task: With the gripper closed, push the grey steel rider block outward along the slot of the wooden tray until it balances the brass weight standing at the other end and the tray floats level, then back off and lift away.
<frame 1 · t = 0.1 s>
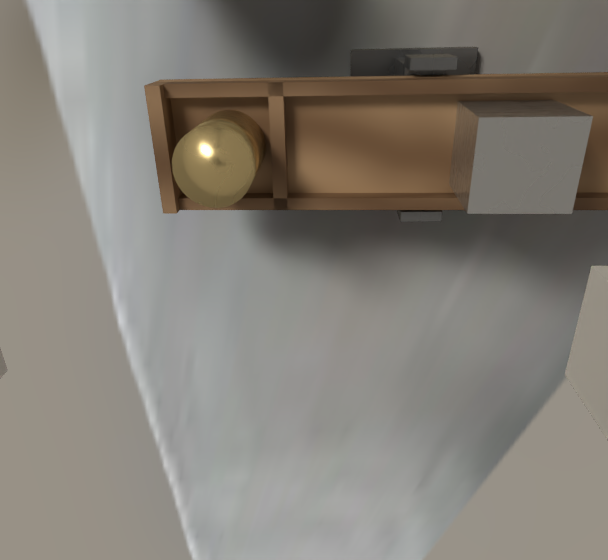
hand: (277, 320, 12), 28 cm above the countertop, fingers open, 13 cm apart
fulcrum: (408, 119, 36), on the countertop
wooden tray: (426, 145, 29), point 8 cm above the countertop, hinge at 1.4°, touching rider, weight
weight: (231, 145, 30), point 7 cm above the countertop, touching wooden tray
rider: (499, 143, 29), point 8 cm above the countertop, touching wooden tray
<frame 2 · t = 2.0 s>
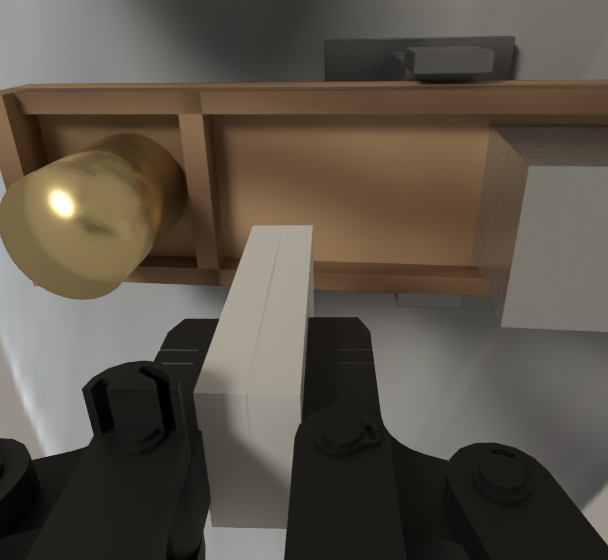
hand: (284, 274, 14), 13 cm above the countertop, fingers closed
fulcrum: (409, 141, 25), on the countertop
wooden tray: (437, 193, 18), point 8 cm above the countertop, hinge at 4.6°, touching rider, weight
weight: (134, 186, 20), point 7 cm above the countertop, touching wooden tray
rider: (556, 194, 18), point 8 cm above the countertop, touching wooden tray
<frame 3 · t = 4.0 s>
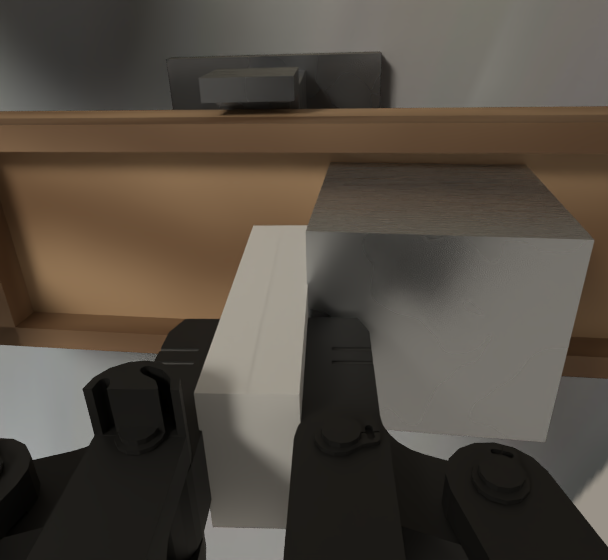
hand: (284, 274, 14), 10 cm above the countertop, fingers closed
fulcrum: (280, 170, 22), on the countertop
wooden tray: (253, 242, 15), point 8 cm above the countertop, hinge at 5.3°, touching weight
rider: (419, 244, 15), point 8 cm above the countertop, tilted 5°, touching gripper
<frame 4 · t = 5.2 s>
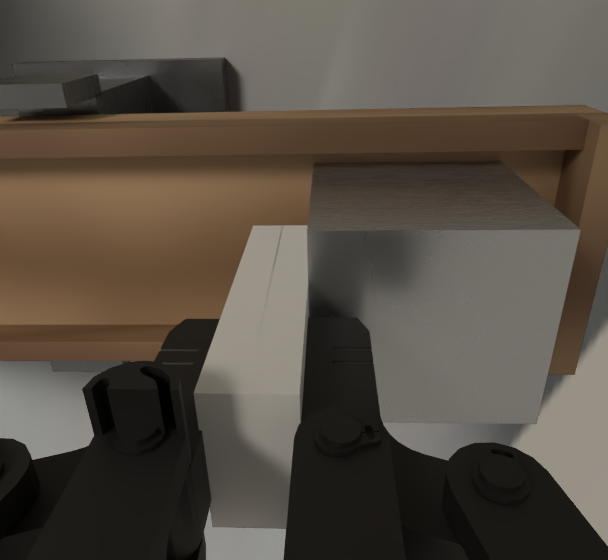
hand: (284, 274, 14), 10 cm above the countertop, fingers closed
fulcrum: (141, 173, 23), on the countertop
wooden tray: (56, 246, 16), point 8 cm above the countertop, hinge at -0.1°, touching weight
rider: (401, 241, 15), point 8 cm above the countertop, touching gripper
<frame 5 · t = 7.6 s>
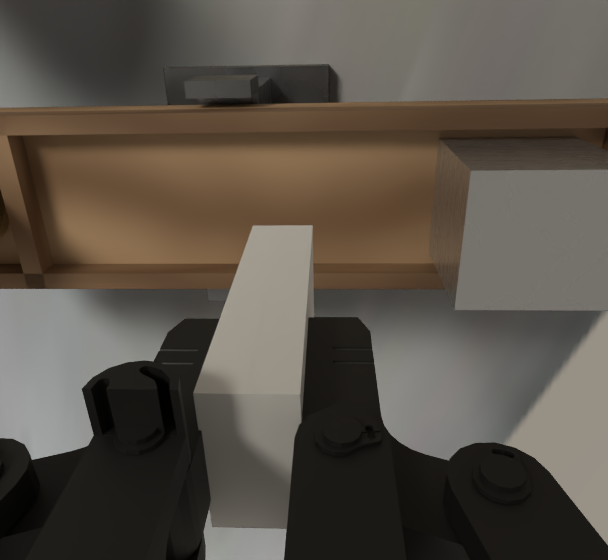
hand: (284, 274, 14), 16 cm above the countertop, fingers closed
fulcrum: (253, 156, 28), on the countertop
wooden tray: (227, 201, 21), point 8 cm above the countertop, hinge at -0.2°, touching rider, weight
rider: (497, 196, 21), point 8 cm above the countertop, touching wooden tray
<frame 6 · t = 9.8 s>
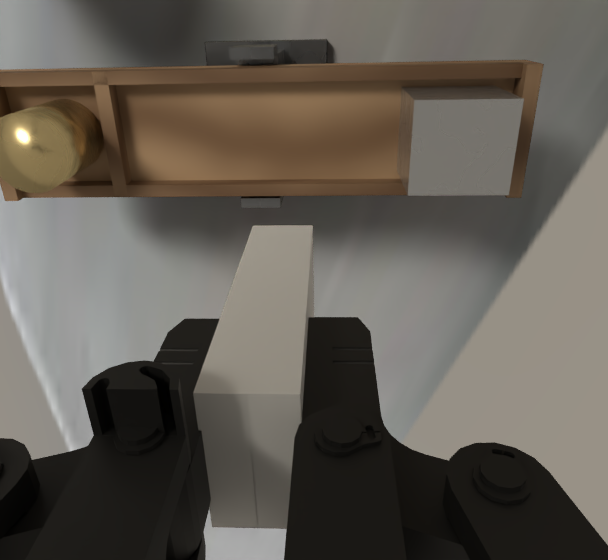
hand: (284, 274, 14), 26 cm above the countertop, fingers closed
fulcrum: (269, 110, 37), on the countertop
wooden tray: (256, 132, 30), point 8 cm above the countertop, hinge at 0.2°, touching rider, weight
weight: (70, 134, 31), point 8 cm above the countertop, touching wooden tray
rider: (443, 129, 30), point 8 cm above the countertop, touching wooden tray
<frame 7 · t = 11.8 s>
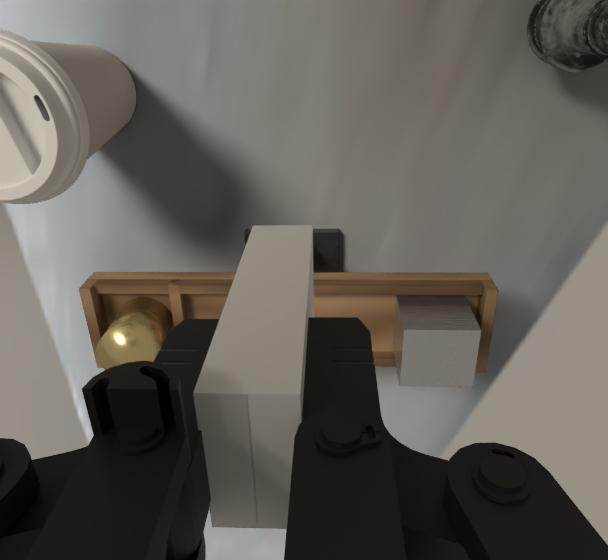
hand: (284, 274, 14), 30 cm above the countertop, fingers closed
fulcrum: (293, 276, 48), on the countertop
coffee cup: (96, 90, 41), on the countertop
wooden tray: (287, 321, 41), point 8 cm above the countertop, hinge at 0.3°, touching rider, weight
salt shaker: (564, 23, 38), on the countertop
weight: (147, 319, 41), point 8 cm above the countertop, touching wooden tray
rider: (427, 320, 40), point 8 cm above the countertop, touching wooden tray
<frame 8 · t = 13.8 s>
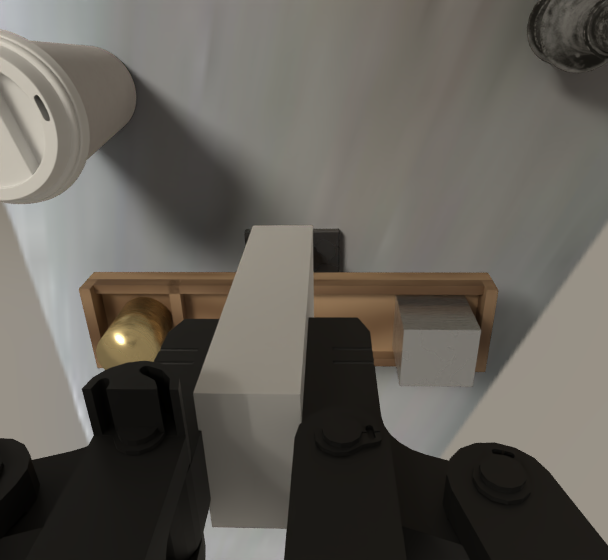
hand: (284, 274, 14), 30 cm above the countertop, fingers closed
fulcrum: (293, 276, 48), on the countertop
coffee cup: (96, 90, 41), on the countertop
wooden tray: (287, 321, 41), point 8 cm above the countertop, hinge at 0.3°, touching rider, weight
salt shaker: (564, 23, 38), on the countertop
weight: (147, 319, 41), point 8 cm above the countertop, touching wooden tray
rider: (427, 320, 40), point 8 cm above the countertop, touching wooden tray
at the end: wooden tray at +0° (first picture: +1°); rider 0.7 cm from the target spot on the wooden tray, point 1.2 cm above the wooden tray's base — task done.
